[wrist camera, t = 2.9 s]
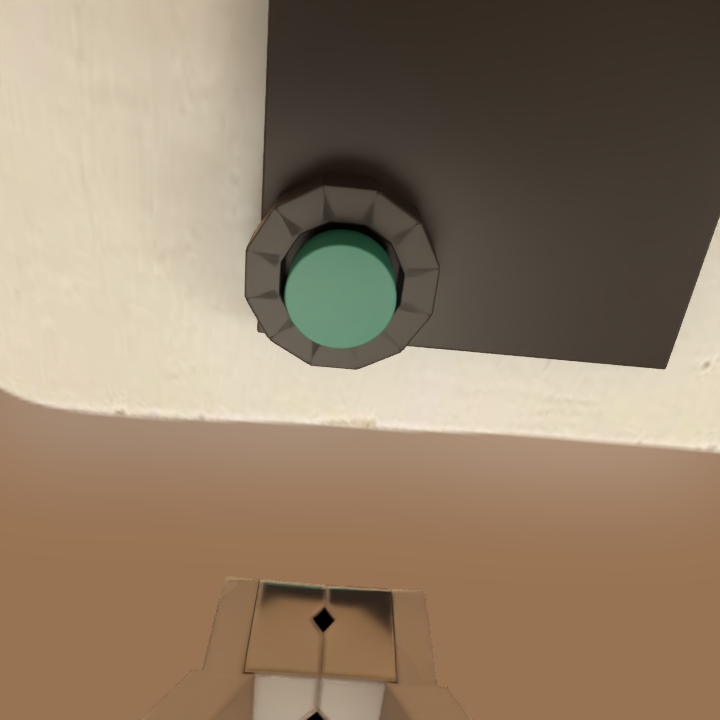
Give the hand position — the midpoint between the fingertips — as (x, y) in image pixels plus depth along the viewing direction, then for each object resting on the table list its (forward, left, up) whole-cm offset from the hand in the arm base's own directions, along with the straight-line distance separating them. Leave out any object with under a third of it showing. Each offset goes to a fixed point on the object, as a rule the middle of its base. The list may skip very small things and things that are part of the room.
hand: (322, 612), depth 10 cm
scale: (+5, +4, -17) cm, 18 cm away
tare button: (0, 0, -14) cm, 14 cm away
